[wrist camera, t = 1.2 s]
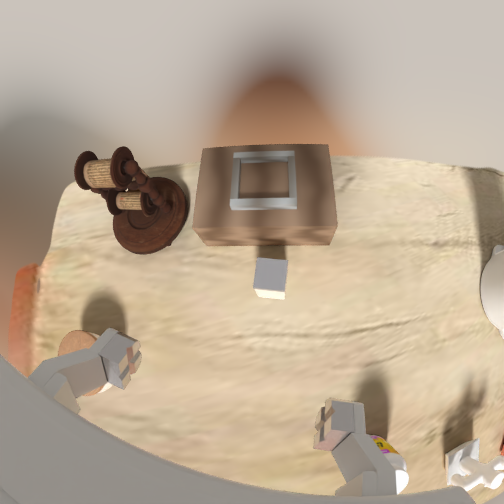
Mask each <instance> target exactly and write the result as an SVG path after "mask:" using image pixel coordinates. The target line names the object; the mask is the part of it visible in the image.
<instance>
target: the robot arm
mask: <svg viewBox="0 0 504 504" xmlns="http://www.w3.org/2000/svg"><path fill="white" fill-rule="evenodd" d="M481 299H482V304H483V308H484V311H485V313H486V315H487V317H488V319H489V320H490V322H491V323H492V324H493V325H494V326H496V327H497V328H498V330H499V332H500V334H501V336H502V338H503V339H504V246H502V245H496V246H495V247H494V249H493V253H492V257H491V259H490V260H489V261H488V263H487V264H486V266H485V268H484V270H483V273H482V278H481ZM140 347H141V345H140V341H138V340H136V339H134V338H132V337H129V336H127V335H125V334H123V333H121V332H119V331H117V330H115V329H113V328H111V327H110V328H108V329H106V331H105V332H104V333H103V334H102V335H101V336H100V337H99V338H98V339H97V340H96V341H95V343H94V344H93V345H92V346H91V347H90V348H89V349H87V348H84V349H81V350H78V351H75V352H71V353H68V354H65V355H61V356H58V357H55V358H51V359H48V360H44V361H43V362H42V363H41V364H40V365H39V366H38V367H37V368H36V369H35V370H34V372H33V373H32V374H31V375H30V376H29V377H28V378H27V377H26V376H24V375H23V374H22V373H21V372H20V371H19V370H17V369H16V368H15V367H14V366H13V365H12V364H11V363H9V362H8V361H7V360H6V359H5V358H4V357H3V356H2V355H1V354H0V504H476V503H475V501H474V500H473V498H472V497H471V496H470V495H469V494H468V493H467V491H466V490H465V489H463V488H462V487H461V486H452V487H447V488H442V489H437V490H431V491H424V492H417V493H409V494H399V495H397V487H396V470H395V469H394V468H393V466H392V465H391V464H390V462H389V461H388V460H387V458H386V457H385V455H384V454H383V453H382V451H381V450H380V449H379V447H378V446H377V445H376V443H375V442H374V441H373V439H372V438H371V436H370V435H369V434H366V427H365V414H364V405H363V403H360V402H353V401H348V400H341V399H335V398H329V399H327V401H326V402H325V407H322V408H321V409H320V411H319V412H318V415H317V417H316V422H315V428H316V430H317V431H318V432H317V433H316V434H315V435H314V446H313V448H314V449H320V450H327V451H332V452H331V453H332V455H333V457H334V459H335V461H336V463H337V465H338V467H339V469H340V470H341V472H342V474H343V476H344V478H345V480H346V482H347V483H346V484H345V485H343V486H341V487H340V488H338V489H337V490H336V491H335V496H328V495H314V494H304V493H295V492H288V491H281V490H275V489H269V488H264V487H258V486H254V485H249V484H244V483H240V482H236V481H232V480H228V479H224V478H221V477H217V476H214V475H210V474H207V473H204V472H201V471H197V470H194V469H191V468H189V467H186V466H183V465H180V464H177V463H175V462H172V461H169V460H167V459H164V458H162V457H159V456H157V455H155V454H152V453H150V452H148V451H145V450H143V449H141V448H139V447H137V446H135V445H132V444H130V443H128V442H126V441H124V440H122V439H120V438H118V437H116V436H115V435H113V434H111V433H109V432H107V431H105V430H103V429H102V428H100V427H98V426H96V425H95V424H93V423H91V422H90V421H88V420H86V419H85V418H83V417H81V416H80V415H78V413H79V411H80V406H79V404H78V402H77V400H76V398H78V397H80V396H82V395H84V394H86V393H88V392H90V391H92V390H94V389H97V388H99V387H101V386H103V385H105V384H107V383H108V382H109V383H111V384H113V385H115V386H117V387H119V388H121V389H123V390H124V389H125V387H126V386H127V384H128V383H129V382H130V380H131V377H130V374H133V373H136V371H137V370H138V368H139V366H140V363H141V358H142V357H141V353H140V351H139V348H140Z"/></svg>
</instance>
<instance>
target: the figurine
mask: <svg viewBox="0 0 504 504" xmlns="http://www.w3.org/2000/svg"><path fill="white" fill-rule="evenodd" d="M478 460H479V438H477V439H474V440H471V441H468V442H465V443H463V444H461V445H459V446H458V447H456V448H454V449H453V450H451V451H449V452H447V453H446V454H445V472H446V479H447V486H448V485H450V484H453V485H454V486H461V487H462V488H463V489H465V490H466V491H468V490H470V489H471V488H473V487H474V486H476V485H477V484H479V483H483V484H484V487H487V486H488V487H490V488H491V489H496V488H497V487H499V486H500V484H501V483H502V480H503V477H504V473H503V472H500V471H497V470H498V469H503V470H504V456H502V455H499V456H496V457H495V458H493V459H492V460H491V461H489V462H488V463H485V464H483V463H481V462H479V461H478ZM466 474H468V475H469V476H467V477H463V476H465V475H466Z"/></svg>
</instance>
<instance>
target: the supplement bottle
mask: <svg viewBox="0 0 504 504" xmlns="http://www.w3.org/2000/svg"><path fill="white" fill-rule="evenodd" d="M370 436H371V438H372V439H373V441H374V442H375V443H376V445H377V446H378V447H379V449H380V450H381V451H382V453H383V454H384V455H385V457H386V458H387V460H388V461H389V462H390V464H391V465H392V466H393V468H394V469H395V470H396V487H397V494H399V493H400V492H401V491H402V490H403V489H404V488H405V487H406V485H407V483H408V480H409V476H408V473H407V472H406V468H407V467H406V462H405V460H404V458H403V457H402V456H401V455H400V454H399V453H398V452H397V451H396V450H395V449H394V448H393V447H392V446H391V445H390V444H389V443H387V442H386V441H385V440H384V439H383V438H382V437H380V436H376V435H370Z"/></svg>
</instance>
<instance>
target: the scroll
mask: <svg viewBox="0 0 504 504" xmlns="http://www.w3.org/2000/svg"><path fill="white" fill-rule="evenodd" d="M74 172H75V173H74V174H75V179H76V182H77V184H78V186H79V187H80V188H82V189H84V190H89V189H91V191H92V192H94V193H98V194H101V196H102V197H103V198H104V199H105V200H106V202H107V207H108V210H109V212H110V213H111V214H112V215H114V217H113V230H114V234H115V237H116V239H117V240H118V242H119V243H120V244H121V245H122V246H123V247H124V248H125V249H127V250H129V251H130V252H133V253H136V254H151V253H155V252H157V251H159V250H161V249H163V248H165V247H166V246H170V245H171V242H172V241H173V240H174V239H175V238H176V237H177V236H178V234H179V233H180V231H181V230H182V228H183V226H184V223H185V221H186V217H187V200H186V197H185V195H184V193H183V191H182V190H181V188H180V187H179V186H178V185H177V184H176V183H175V182H173V181H172V180H170V179H167V178H162V177H153V178H150V177H149V176H148V175H147V174H146V173H145V172H144V171H143V170H142V169H141V168H140V167H139V166H138V163H137V162H136V161H135V160H134V157H133V155H132V153H131V151H130V150H129V149H128V148H127V147H119V148H118V149H117V150H116V151H115V152H114V154H113V156H112V158H111V159H101V160H98V158H97V157H96V155H95V154H94V153H93V152H91V151H85V152H83V153H82V154H80V156H79V157H78V159H77V161H76V164H75V169H74ZM127 188H128V191H127V192H126V191H125V190H127Z"/></svg>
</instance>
